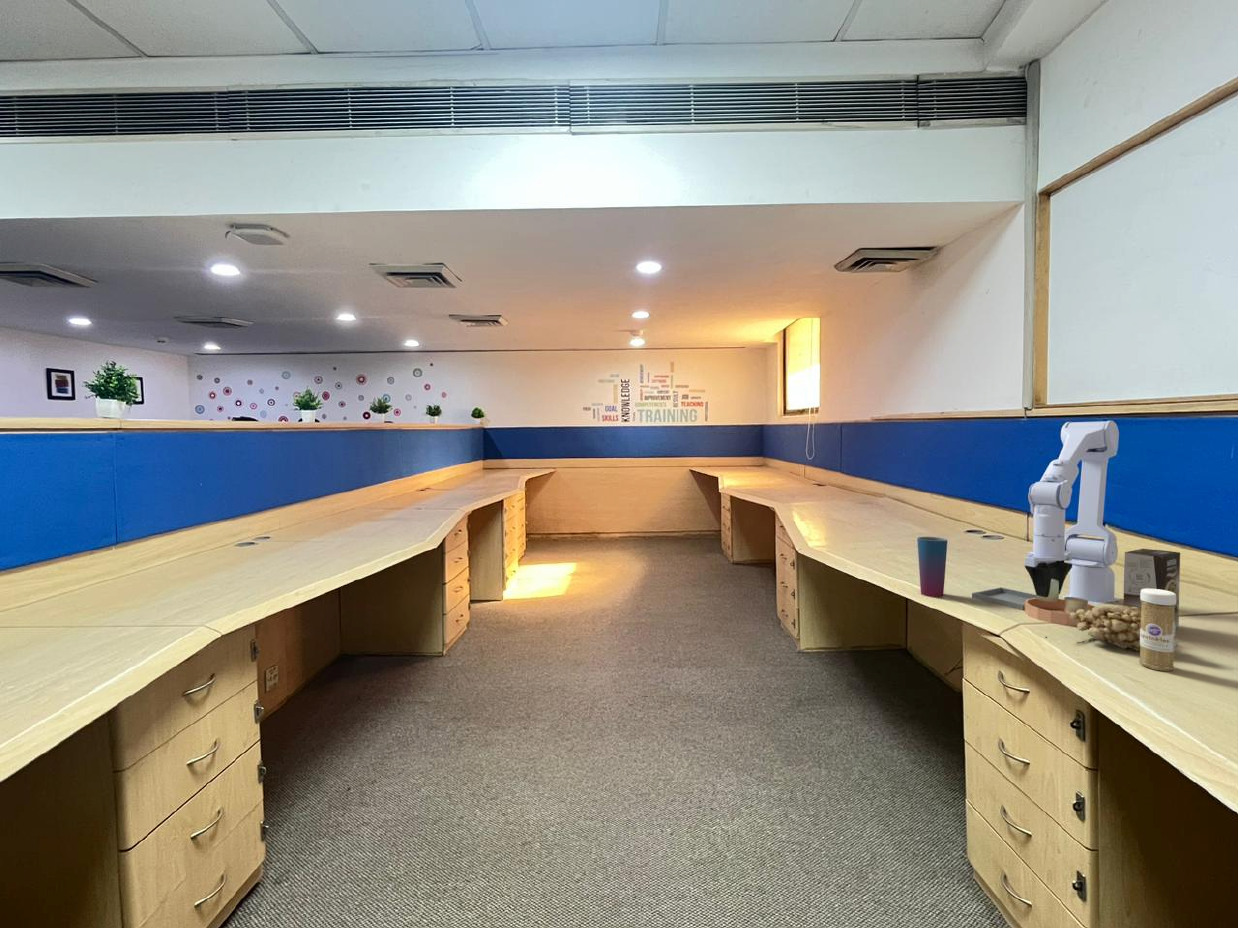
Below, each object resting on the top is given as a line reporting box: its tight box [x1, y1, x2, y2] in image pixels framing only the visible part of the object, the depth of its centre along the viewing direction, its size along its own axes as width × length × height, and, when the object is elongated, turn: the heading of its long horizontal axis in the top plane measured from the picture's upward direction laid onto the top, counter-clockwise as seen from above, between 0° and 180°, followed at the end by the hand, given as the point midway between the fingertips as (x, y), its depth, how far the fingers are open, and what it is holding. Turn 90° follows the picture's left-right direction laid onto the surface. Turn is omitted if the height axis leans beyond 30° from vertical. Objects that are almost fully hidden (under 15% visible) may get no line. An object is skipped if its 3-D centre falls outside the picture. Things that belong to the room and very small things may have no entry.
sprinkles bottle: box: [1138, 588, 1176, 672], centre depth 100 cm, size 5×5×13 cm
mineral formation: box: [1070, 605, 1179, 652], centre depth 112 cm, size 8×13×15 cm
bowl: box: [1024, 598, 1096, 627], centre depth 127 cm, size 13×13×3 cm
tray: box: [971, 587, 1037, 611], centre depth 140 cm, size 12×12×2 cm
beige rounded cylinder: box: [1063, 597, 1089, 614], centre depth 124 cm, size 4×4×4 cm
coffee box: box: [1122, 548, 1181, 630], centre depth 120 cm, size 9×6×16 cm
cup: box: [916, 536, 948, 598], centre depth 146 cm, size 7×7×15 cm
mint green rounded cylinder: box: [1037, 579, 1060, 602], centre depth 129 cm, size 4×4×4 cm
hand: (1048, 594), depth 129 cm, fingers closed on mint green rounded cylinder, 4 cm apart
